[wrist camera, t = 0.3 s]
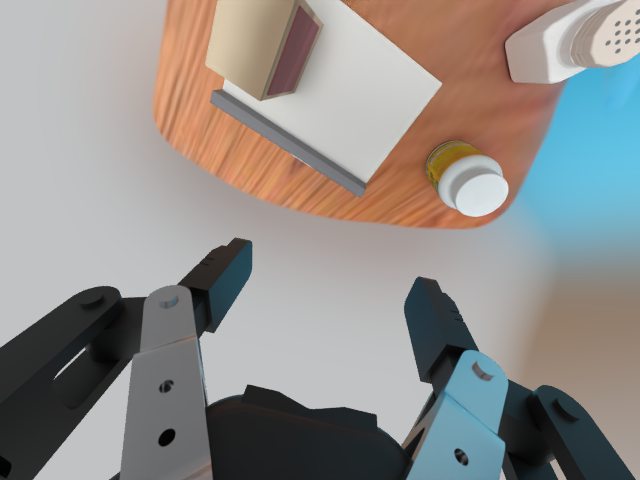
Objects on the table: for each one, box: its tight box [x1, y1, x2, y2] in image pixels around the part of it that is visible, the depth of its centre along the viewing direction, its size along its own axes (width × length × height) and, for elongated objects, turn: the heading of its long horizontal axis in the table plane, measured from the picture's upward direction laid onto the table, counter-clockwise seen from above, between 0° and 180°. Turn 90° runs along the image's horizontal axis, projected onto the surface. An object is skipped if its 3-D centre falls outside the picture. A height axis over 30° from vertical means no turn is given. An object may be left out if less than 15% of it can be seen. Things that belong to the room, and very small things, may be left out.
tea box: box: [205, 0, 324, 101], centre depth 18 cm, size 4×6×10 cm
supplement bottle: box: [426, 141, 508, 217], centre depth 24 cm, size 5×5×10 cm
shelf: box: [210, 0, 442, 198], centre depth 24 cm, size 13×19×4 cm
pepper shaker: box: [505, 0, 640, 84], centre depth 17 cm, size 4×4×10 cm
